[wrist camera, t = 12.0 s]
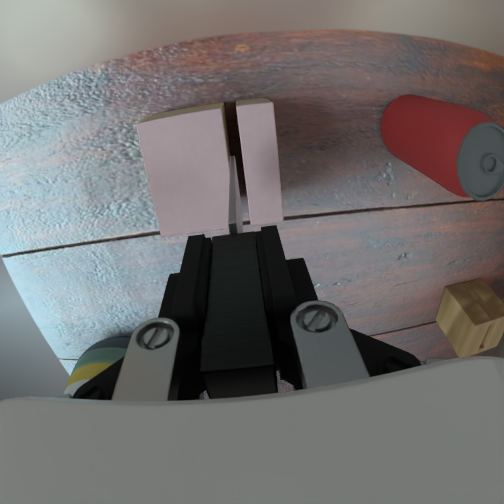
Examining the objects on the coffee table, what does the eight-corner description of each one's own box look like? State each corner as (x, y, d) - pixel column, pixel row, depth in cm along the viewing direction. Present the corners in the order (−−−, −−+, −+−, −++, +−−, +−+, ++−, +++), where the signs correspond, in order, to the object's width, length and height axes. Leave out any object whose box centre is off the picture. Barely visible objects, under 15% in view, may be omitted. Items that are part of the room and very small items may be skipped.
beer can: (425, 165, 29) (501, 215, 18) (371, 151, 28) (440, 198, 17) (441, 105, 25) (526, 133, 15) (385, 85, 24) (467, 99, 14)
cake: (223, 102, 25) (221, 108, 20) (236, 198, 30) (237, 227, 25) (155, 114, 25) (135, 123, 20) (173, 207, 30) (161, 237, 25)
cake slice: (265, 97, 25) (273, 102, 20) (274, 194, 30) (283, 221, 24) (235, 100, 25) (235, 105, 20) (247, 197, 30) (250, 225, 24)
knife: (245, 154, 20) (274, 351, 6) (250, 200, 21) (281, 426, 8) (219, 157, 20) (193, 359, 6) (226, 203, 22) (221, 432, 8)
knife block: (481, 278, 37) (512, 313, 30) (470, 310, 40) (496, 346, 33) (445, 286, 37) (475, 326, 30) (435, 319, 40) (460, 359, 33)
